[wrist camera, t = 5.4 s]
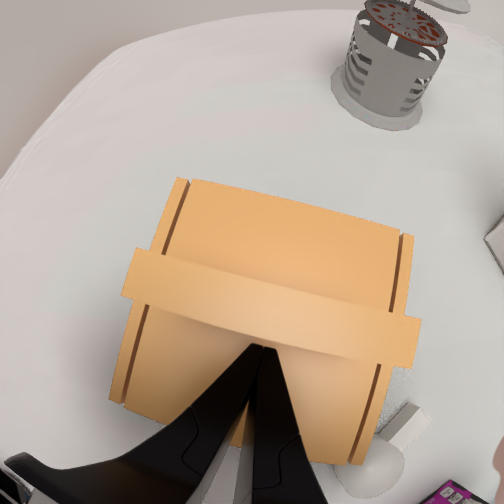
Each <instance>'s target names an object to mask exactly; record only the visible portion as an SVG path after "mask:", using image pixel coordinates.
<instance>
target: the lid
mask: <svg viewBox="0 0 504 504" xmlns="http://www.w3.org/2000/svg"><path fill="white" fill-rule="evenodd" d="M399 234H400V230H399V229H395V228H392V227H389V226H385V225H382V224H378V223H375V222H372V221H368V220H364V219H361V218H357V217H354V216H350V215H346V214H343V213H339V212H335V211H332V210H328V209H324V208H320V207H316V206H312V205H308V204H304V203H300V202H296V201H292V200H288V199H284V198H280V197H276V196H271V195H267V194H263V193H259V192H254V191H250V190H245V189H241V188H236V187H231V186H227V185H222V184H217V183H212V182H208V181H203V180H198V179H193V180H192V182H191V185H190V183H189V181H188V179H183V178H178V177H177V178H176V180H175V183H174V185H173V188H172V190H171V193H170V196H169V198H168V201H167V203H166V206H165V209H164V211H163V214H162V217H161V219H160V222H159V225H158V228H157V230H156V233H155V236H154V239H153V242H152V245H151V247H150V250H149V251H147V250H144V249H140V248H137V247H136V249H135V252H134V255H133V258H132V261H131V264H130V267H129V270H128V273H127V276H126V280H125V283H124V286H123V289H122V292H121V296H124V297H127V298H130V299H133V300H134V301H133V304H132V307H131V311H130V314H129V318H128V321H127V325H126V329H125V332H124V336H123V340H122V344H121V347H120V351H119V355H118V359H117V364H116V368H115V372H114V376H113V381H112V385H111V390H110V394H109V400H112V401H114V402H116V403H118V404H121V403H124V402H125V403H124V408H126V409H128V410H130V411H133V412H135V413H137V414H140V415H142V416H145V417H147V418H150V419H152V420H155V421H157V422H160V423H163V424H165V425H168V424H170V423H171V422H172V421H173V420H174V419H175V418H177V417H178V416H179V415H180V414H181V413H182V412H183V411H184V410H185V409H186V408H187V407H188V406H190V405H191V404H192V403H193V402H194V401H195V400H196V399H197V398H198V397H199V396H200V395H201V394H202V393H203V392H204V391H205V390H206V389H207V388H208V387H209V386H210V385H211V384H212V383H213V382H214V381H215V380H216V379H217V378H218V377H219V376H220V375H221V374H222V373H223V372H224V371H225V370H226V369H227V368H228V367H229V366H230V365H231V364H232V362H233V361H234V360H235V359H236V358H237V357H238V356H239V355H240V354H241V353H242V352H243V351H244V350H245V349H246V348H247V347H248V346H249V345H250V344H251V343H256V344H259V345H263V348H264V347H265V346H267V347H271V348H275V349H276V350H277V352H278V356H279V359H280V363H281V367H282V370H283V374H284V377H285V381H286V384H287V388H288V392H289V395H290V399H291V402H292V406H293V409H294V413H295V416H296V420H297V424H298V427H299V431H300V435H301V437H302V441H303V444H304V448H305V451H306V454H307V457H308V459H309V461H310V462H318V463H325V464H334V465H344V466H345V465H346V463H347V461H348V462H349V463H350V465H363V462H364V460H365V457H366V455H367V452H368V449H369V446H370V444H371V441H372V438H373V435H374V432H375V429H376V426H377V423H378V420H379V417H380V413H381V410H382V407H383V403H384V400H385V396H386V393H387V389H388V385H389V382H390V378H391V374H392V370H393V366H396V367H402V368H409V369H412V364H413V360H414V356H415V351H416V346H417V341H418V336H419V331H420V325H421V319H418V318H414V317H409V316H405V315H404V313H405V307H406V301H407V294H408V288H409V280H410V273H411V264H412V255H413V245H414V236H412V235H409V234H406V233H403V234H402V235H400V236H399ZM249 398H250V397H249ZM248 402H249V400H248ZM247 406H248V404H247ZM247 406H246V409H245V411H244V414H243V416H242V418H241V420H240V423H239V425H238V427H237V429H236V432H235V434H234V436H233V438H232V440H231V442H230V445H232V446H236V447H240V448H241V447H242V440H243V433H244V426H245V419H246V411H247Z"/></svg>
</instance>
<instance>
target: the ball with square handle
mask: <svg viewBox="0 0 504 504" xmlns="http://www.w3.org/2000/svg"><path fill="white" fill-rule="evenodd" d="M430 421H431V419H430V418H429V417H428V416H427V415H426V414H425V413H424V412H423V410H422V409H421V408H420V407H417V406H414V405H412V404H409V403H407V404H406V405H405V406H404V407H403V408H402V409H401V410H400V412H399V413H398V414H397V415H396V416H395V417H394V418H393V419H392V420H391V421H390V422H389V423H388V424H387V425H386V427H385V428H384V429H383V430H382V431H381V432H380V433H379V434H378V435H377V434H374V435H373V438H372V441H371V444H370V446H369V449H368V452H367V455H366V457H365V460H364V462H363V465H350V463H349V462H348V461H347V463H346V465H345V466H344V465H334V470H335V473H336V475H337V477H338V479H339V480H340V482H341V484H342V486H343V487H344V489H345V491H346V492H347V493H348V494H349V495H351V496H353V497H356V498H361V499H367V498H373V497H376V496H379V495H381V494H383V493H384V492H386V491H388V490H389V489H390V488H391V487H392V486H393V485H394V484H395V483H396V482H397V481H398V479H399V478H400V476H401V474H402V472H403V468H404V457H403V454H402V452H403V451H404V450H405V449H406V448H407V447H408V446H409V445H410V444H411V443H412V442H413V441H414V440H415V438H416V437H417V436H418V435H419V434H420V433H421V432H422V431H423V430H424V428H425V427H426V426H427V425H428V424H429V423H430Z"/></svg>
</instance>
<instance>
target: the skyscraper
mask: <svg viewBox="0 0 504 504" xmlns="http://www.w3.org/2000/svg"><path fill="white" fill-rule="evenodd" d="M483 240H484V241H485V243H486V244H487V246H488V248H489V249H490V251H491V253H492V254H493V256H494V258H495V260H496V261H497V263H498V265H499V267H500V268H501V270H502V272H503V274H504V215H503V216H502V217H501V219H500V220H499V221H498V222H497V224H496V225H495V226H494V227H493V229H492V230H491V231H490V232H489V233H488V235H487V236H486V237H485V238H484V239H483Z"/></svg>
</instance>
